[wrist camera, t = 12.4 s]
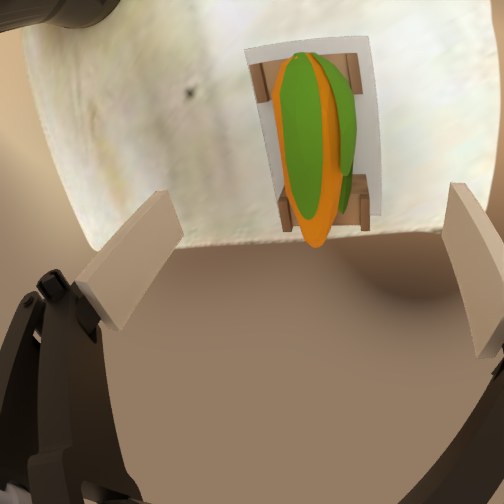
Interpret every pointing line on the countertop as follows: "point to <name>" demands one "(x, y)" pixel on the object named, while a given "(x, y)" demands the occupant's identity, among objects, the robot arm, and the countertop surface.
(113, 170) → the countertop surface
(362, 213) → the wooden brackets on board
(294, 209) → the corn
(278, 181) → the mat
